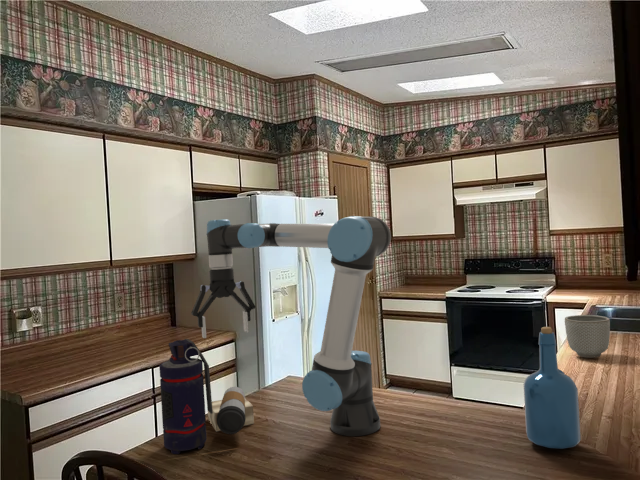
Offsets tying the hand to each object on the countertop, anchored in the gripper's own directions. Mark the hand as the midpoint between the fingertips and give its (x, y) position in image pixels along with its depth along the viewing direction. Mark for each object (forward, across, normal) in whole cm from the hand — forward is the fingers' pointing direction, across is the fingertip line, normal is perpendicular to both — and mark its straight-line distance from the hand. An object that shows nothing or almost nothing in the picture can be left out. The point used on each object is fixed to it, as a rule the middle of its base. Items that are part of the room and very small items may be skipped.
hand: (225, 334), depth 164 cm
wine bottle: (+29, -70, +63) cm, 99 cm away
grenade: (+28, +15, +11) cm, 34 cm away
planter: (+29, -154, +10) cm, 157 cm away
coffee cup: (+18, -1, +3) cm, 19 cm away
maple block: (+28, 0, -1) cm, 29 cm away
